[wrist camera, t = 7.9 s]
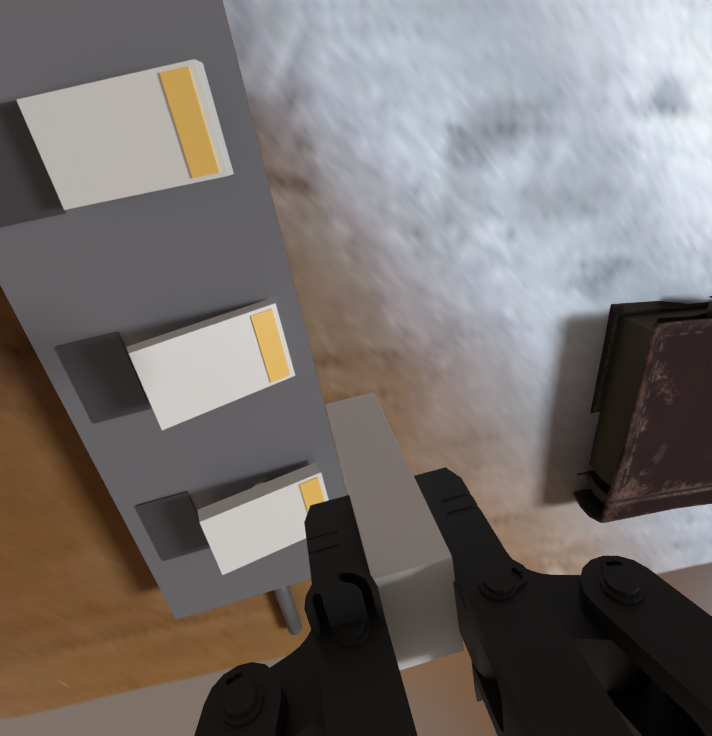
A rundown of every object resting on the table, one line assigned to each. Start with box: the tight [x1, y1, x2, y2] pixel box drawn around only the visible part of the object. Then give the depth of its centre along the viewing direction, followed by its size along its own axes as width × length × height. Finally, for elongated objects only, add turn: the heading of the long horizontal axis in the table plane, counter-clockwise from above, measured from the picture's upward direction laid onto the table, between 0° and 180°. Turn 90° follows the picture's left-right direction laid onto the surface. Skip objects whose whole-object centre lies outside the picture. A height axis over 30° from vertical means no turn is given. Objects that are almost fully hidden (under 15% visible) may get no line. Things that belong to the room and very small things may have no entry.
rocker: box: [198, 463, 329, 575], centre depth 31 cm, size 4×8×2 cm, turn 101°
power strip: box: [0, 0, 347, 635], centre depth 30 cm, size 47×14×4 cm, turn 11°
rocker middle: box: [126, 299, 295, 430], centre depth 26 cm, size 4×8×2 cm, turn 101°
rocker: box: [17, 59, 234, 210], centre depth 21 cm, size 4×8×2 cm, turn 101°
